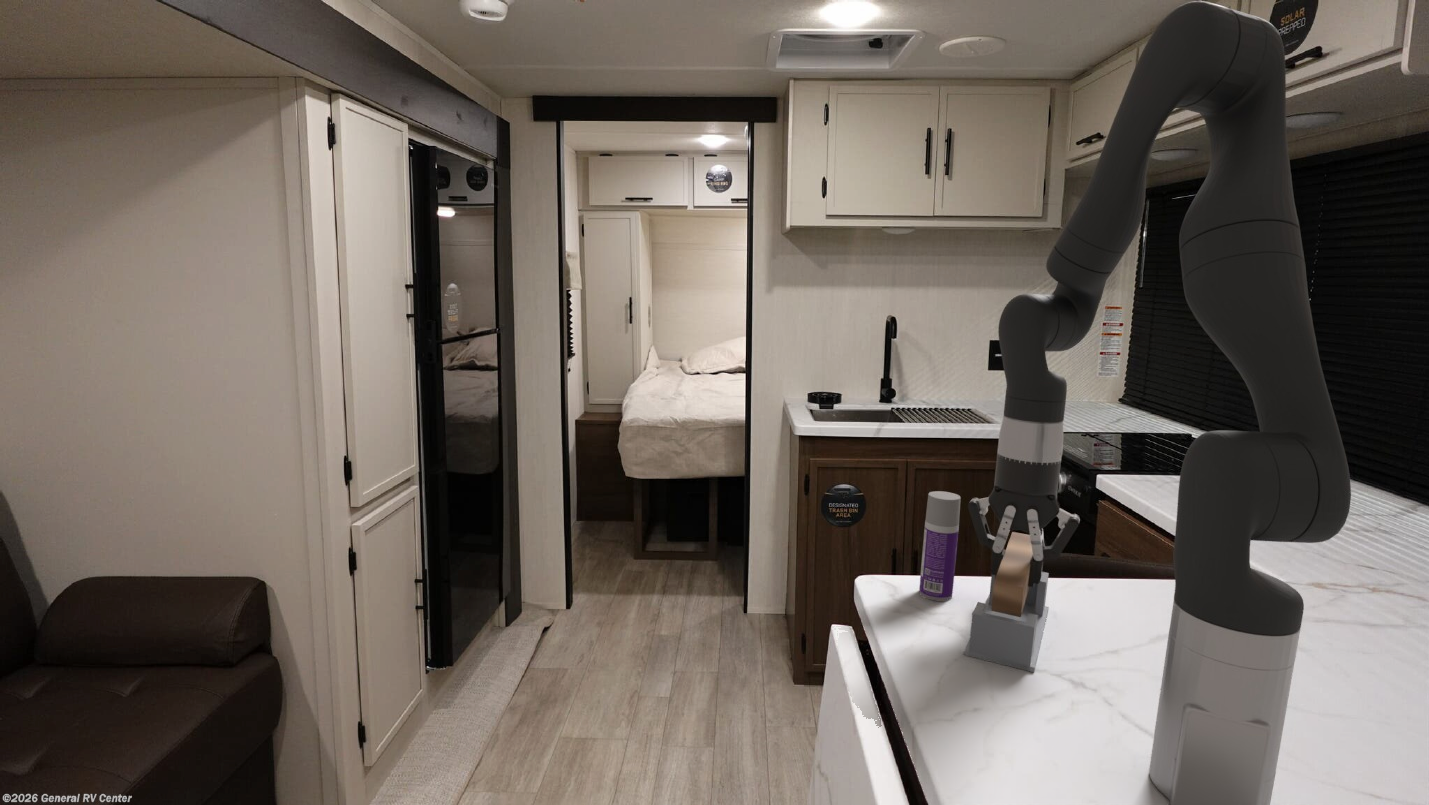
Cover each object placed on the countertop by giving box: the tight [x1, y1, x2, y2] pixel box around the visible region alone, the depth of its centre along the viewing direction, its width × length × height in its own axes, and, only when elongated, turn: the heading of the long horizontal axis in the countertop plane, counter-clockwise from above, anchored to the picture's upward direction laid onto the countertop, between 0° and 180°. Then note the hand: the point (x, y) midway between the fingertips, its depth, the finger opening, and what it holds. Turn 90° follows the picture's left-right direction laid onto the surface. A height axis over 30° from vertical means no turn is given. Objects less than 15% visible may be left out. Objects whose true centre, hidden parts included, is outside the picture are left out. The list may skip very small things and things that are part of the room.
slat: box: [991, 531, 1033, 617], centre depth 100 cm, size 16×3×4 cm, turn 152°
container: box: [918, 490, 962, 602], centre depth 110 cm, size 5×5×15 cm
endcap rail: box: [963, 571, 1050, 673], centre depth 100 cm, size 20×8×6 cm, turn 152°
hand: (1015, 581), depth 99 cm, fingers closed on slat, 3 cm apart
